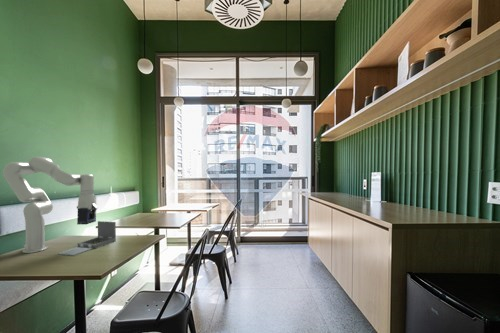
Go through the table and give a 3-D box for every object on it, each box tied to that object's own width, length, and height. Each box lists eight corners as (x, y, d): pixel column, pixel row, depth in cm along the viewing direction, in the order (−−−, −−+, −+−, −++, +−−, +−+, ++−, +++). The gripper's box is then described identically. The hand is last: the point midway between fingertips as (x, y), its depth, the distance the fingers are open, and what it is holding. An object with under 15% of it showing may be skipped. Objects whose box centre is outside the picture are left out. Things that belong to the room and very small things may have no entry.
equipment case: (76, 247, 167) (76, 226, 167) (99, 240, 184) (99, 221, 184) (94, 248, 163) (94, 227, 163) (115, 241, 180) (115, 221, 180)
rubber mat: (57, 254, 154) (57, 253, 154) (77, 247, 166) (77, 246, 166) (73, 255, 150) (73, 254, 150) (92, 249, 163) (92, 248, 163)
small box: (86, 224, 161) (86, 208, 162) (76, 224, 161) (76, 208, 161) (96, 221, 172) (96, 206, 172) (87, 221, 172) (87, 206, 172)
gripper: (71, 192, 165) (71, 219, 165) (92, 193, 161) (92, 220, 161) (81, 191, 173) (81, 217, 172) (102, 192, 168) (102, 218, 168)
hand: (86, 218), depth 167 cm, fingers closed on small box, 7 cm apart
